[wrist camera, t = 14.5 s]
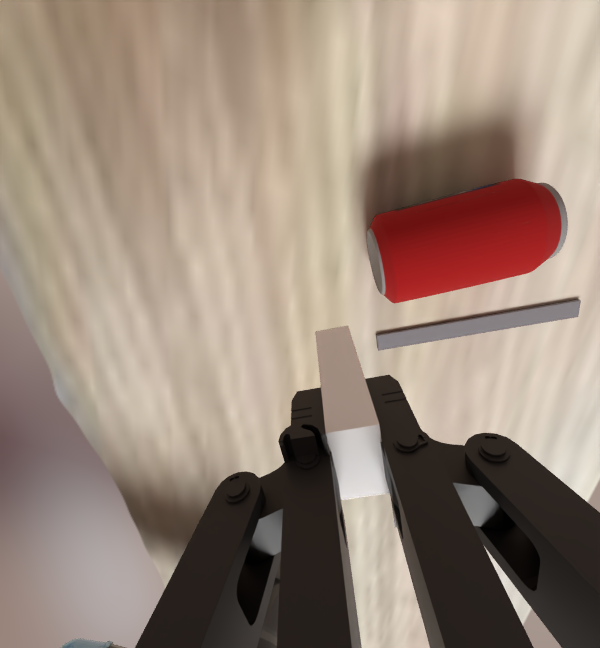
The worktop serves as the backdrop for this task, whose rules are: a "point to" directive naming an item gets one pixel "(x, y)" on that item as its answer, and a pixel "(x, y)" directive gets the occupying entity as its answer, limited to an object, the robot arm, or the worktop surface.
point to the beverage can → (466, 239)
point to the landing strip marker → (479, 325)
